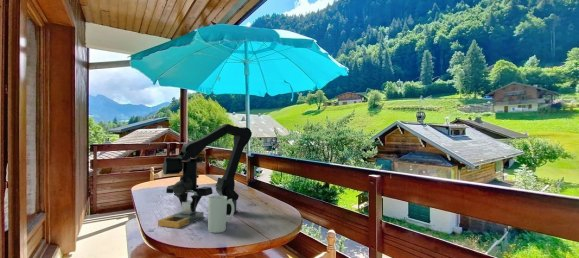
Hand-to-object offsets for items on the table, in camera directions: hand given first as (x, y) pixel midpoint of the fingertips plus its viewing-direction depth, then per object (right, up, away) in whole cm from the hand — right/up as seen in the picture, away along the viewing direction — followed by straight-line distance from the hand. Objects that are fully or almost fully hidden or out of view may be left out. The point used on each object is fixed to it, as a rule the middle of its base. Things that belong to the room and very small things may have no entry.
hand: (188, 210), depth 129 cm
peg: (0, -3, 0) cm, 3 cm away
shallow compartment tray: (-1, -3, -4) cm, 5 cm away
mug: (+17, -3, -14) cm, 22 cm away
